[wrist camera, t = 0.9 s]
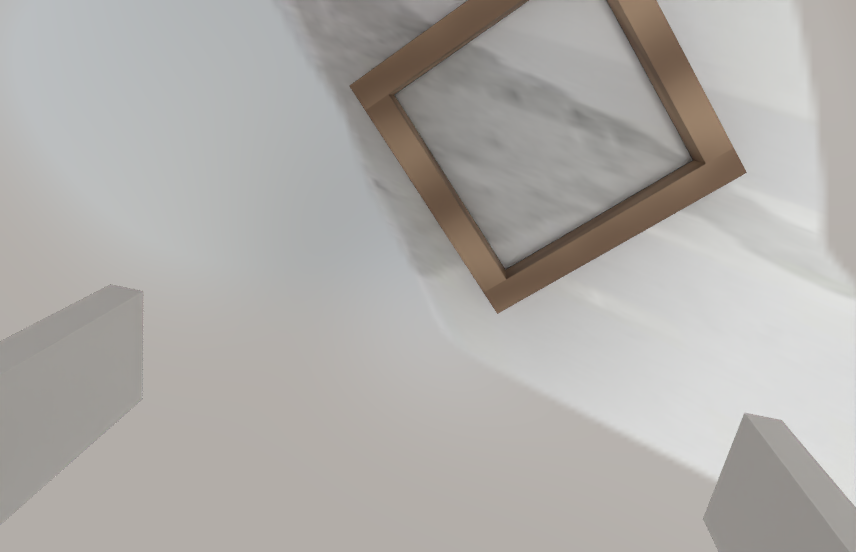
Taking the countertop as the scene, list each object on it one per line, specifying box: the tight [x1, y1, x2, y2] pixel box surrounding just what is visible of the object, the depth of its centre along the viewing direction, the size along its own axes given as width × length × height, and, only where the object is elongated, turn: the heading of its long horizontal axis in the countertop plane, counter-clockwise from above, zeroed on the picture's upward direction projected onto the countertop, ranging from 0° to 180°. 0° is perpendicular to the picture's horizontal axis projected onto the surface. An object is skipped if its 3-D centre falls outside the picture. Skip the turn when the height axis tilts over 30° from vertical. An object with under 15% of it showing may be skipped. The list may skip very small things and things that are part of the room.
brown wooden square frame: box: [350, 0, 747, 314], centre depth 32 cm, size 15×15×2 cm
